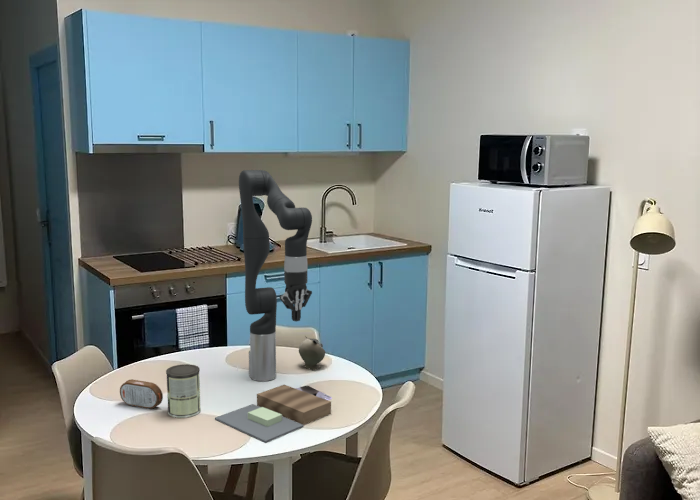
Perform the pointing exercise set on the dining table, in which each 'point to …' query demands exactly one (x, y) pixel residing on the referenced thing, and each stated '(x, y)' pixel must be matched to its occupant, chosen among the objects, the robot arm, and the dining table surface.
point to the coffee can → (183, 390)
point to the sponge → (265, 416)
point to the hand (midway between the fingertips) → (296, 320)
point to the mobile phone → (314, 392)
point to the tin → (141, 394)
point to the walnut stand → (294, 404)
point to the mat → (257, 424)
